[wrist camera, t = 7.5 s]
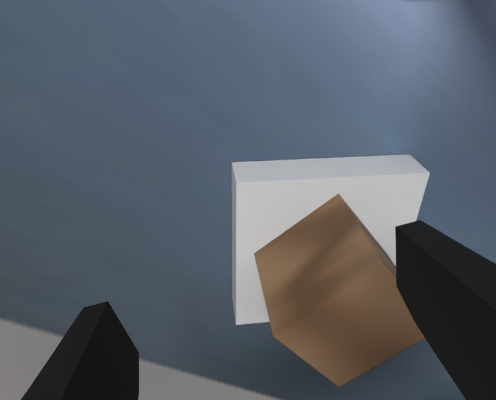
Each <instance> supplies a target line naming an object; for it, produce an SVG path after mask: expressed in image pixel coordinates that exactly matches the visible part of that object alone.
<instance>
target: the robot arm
mask: <svg viewBox="0 0 496 400" xmlns="http://www.w3.org/2000/svg"><path fill="white" fill-rule="evenodd" d="M395 237H396V286H397V288H398V290H399V292H400V294H401V296H402V298H403V300H404V302H405V304H406V306H407V308H408V310H409V312H410V314H411V316H412V318H413V320H414V322H415V323H416V325H417V326H418V328H419V330H420V331H421V333H422V334H423V336H424V337H425V339H426V340H427V342H428V343H429V345H430V346H431V348H432V349H433V351H434V352H435V354H436V355H437V357H438V358H439V360H440V361H441V363H442V364H443V366H444V367H445V369H446V370H447V372H448V373H449V375H450V376H451V378H452V379H453V381H454V382H455V384H456V385H457V387H458V388H459V390H460V391H461V393H462V394H463V396H464V397H465V399H466V400H496V264H495V263H493V262H491V261H490V260H488V259H486V258H484V257H482V256H481V255H479V254H477V253H475V252H474V251H472V250H470V249H468V248H467V247H465V246H463V245H462V244H460V243H458V242H456V241H455V240H453V239H451V238H450V237H448V236H446V235H445V234H443V233H441V232H439V231H438V230H436V229H434V228H433V227H431V226H429V225H427V224H426V223H424V222H422V221H420V220H418V221H415V222H411V223H407V224H403V225H399V226H395ZM138 395H139V352H138V351H137V349H136V347H135V346H134V344H133V342H132V341H131V339H130V337H129V336H128V334H127V332H126V331H125V329H124V327H123V326H122V324H121V322H120V321H119V319H118V317H117V316H116V314H115V312H114V311H113V309H112V307H111V306H110V304H109V302H108V301H107V302H103V303H100V304H96V305H92V306H88V307H84V308H83V309H82V311H81V312H80V314H79V315H78V317H77V318H76V319H75V321H74V322H73V324H72V325H71V327H70V328H69V330H68V331H67V333H66V334H65V336H64V337H63V339H62V340H61V342H60V343H59V345H58V346H57V348H56V350H55V351H54V352H53V354H52V355H51V357H50V358H49V360H48V361H47V363H46V364H45V366H44V367H43V369H42V370H41V372H40V373H39V374H38V376H37V377H36V379H35V380H34V382H33V384H32V385H31V386H30V388H29V389H28V391H27V392H26V393H25V395H24V396H23V398H22V399H21V400H138Z"/></svg>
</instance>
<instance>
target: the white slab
mask: <svg viewBox="0 0 496 400" xmlns="http://www.w3.org/2000/svg"><path fill="white" fill-rule="evenodd" d="M429 174H430V172H428V171H427V170H426V169H425V168H424V167H423V166H422V165H421V164H419V163H418V162H417V161H416V160H415V159H414V158H413V157H412V156H411V155H409V154H408V155H385V156H363V157H341V158H318V159H296V160H274V161H251V162H232V300H233V307H234V314H235V321H236V325H240V324H251V323H261V322H270V321H269V316H268V312H267V308H266V303H265V299H264V295H263V291H262V286H261V282H260V278H259V273H258V269H257V265H256V261H255V256H254V253H255V252H257V251H258V250H259V249H261V248H262V247H264V246H265V245H266V244H268V243H269V242H271V241H272V240H274V239H275V238H276V237H278V236H279V235H281V234H282V233H283V232H285V231H286V230H288V229H289V228H290V227H292V226H293V225H295V224H296V223H298V222H299V221H300V220H302V219H303V218H305V217H306V216H307V215H309V214H310V213H312V212H313V211H314V210H316V209H317V208H319V207H320V206H322V205H323V204H324V203H326V202H327V201H329V200H330V199H331V198H333V197H334V196H336V195H337V194H338V193H339V195H340V196H341V197H342V198H343V200H344V201H345V202H346V203H347V205H348V206H349V207H350V208H351V209H352V211H353V212H354V213H355V214H356V216H357V217H358V218H359V219H360V221H361V222H362V223H363V224H364V226H365V227H366V228H367V229H368V231H369V232H370V233H371V234H372V236H373V237H374V238H375V239H376V241H377V242H378V243H379V244H380V246H381V247H382V248H383V249H384V250H385V252H386V253H387V254H388V256H389V257H390V259H391V260H392V262H393V263H394V265H395V266H396V237H395V226H399V225H403V224H407V223H411V222H415V221H416V219H417V216H418V212H419V209H420V205H421V202H422V199H423V195H424V192H425V188H426V185H427V181H428V178H429Z"/></svg>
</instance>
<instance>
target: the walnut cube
mask: <svg viewBox="0 0 496 400" xmlns="http://www.w3.org/2000/svg"><path fill="white" fill-rule="evenodd" d="M254 256H255V261H256V265H257V269H258V273H259V278H260V282H261V286H262V291H263V295H264V299H265V303H266V308H267V312H268V316H269V321H270V325H271V329H272V334H273V337H275V338H276V339H277V340H279V341H280V342H281V343H282V344H284V345H285V346H286V347H288V348H289V349H290V350H292V351H293V352H294V353H295V354H297V355H298V356H299V357H301V358H302V359H303V360H304V361H306V362H307V363H308V364H310V365H311V366H312V367H313V368H315V369H316V370H317V371H319V372H320V373H321V374H322V375H324V376H325V377H326V378H328V379H329V380H330V381H331V382H333V383H334V384H335V385H337V386H338V387H340V386H342V385H344V384H346V383H347V382H349V381H351V380H353V379H354V378H356V377H358V376H360V375H361V374H363V373H365V372H367V371H368V370H370V369H372V368H374V367H375V366H377V365H379V364H381V363H382V362H384V361H386V360H388V359H389V358H391V357H393V356H395V355H397V354H398V353H400V352H402V351H404V350H405V349H407V348H409V347H411V346H412V345H414V344H416V343H418V342H419V341H421V340H423V339H425V337H424V336H423V334H422V333H421V331H420V330H419V328H418V326H417V325H416V323H415V322H414V320H413V318H412V316H411V314H410V312H409V310H408V308H407V306H406V304H405V302H404V300H403V298H402V296H401V294H400V292H399V290H398V288H397V286H396V266H395V265H394V263H393V262H392V260H391V259H390V257H389V256H388V254H387V253H386V252H385V250H384V249H383V248H382V247H381V246H380V244H379V243H378V242H377V241H376V239H375V238H374V237H373V236H372V234H371V233H370V232H369V231H368V229H367V228H366V227H365V226H364V224H363V223H362V222H361V221H360V219H359V218H358V217H357V216H356V214H355V213H354V212H353V211H352V209H351V208H350V207H349V206H348V205H347V203H346V202H345V201H344V200H343V198H342V197H341V196H340V195H339V193H338V194H337V195H336V196H334V197H333V198H331V199H330V200H329V201H327V202H326V203H324V204H323V205H322V206H320V207H319V208H317V209H316V210H314V211H313V212H312V213H310V214H309V215H307V216H306V217H305V218H303V219H302V220H300V221H299V222H298V223H296V224H295V225H293V226H292V227H290V228H289V229H288V230H286V231H285V232H283V233H282V234H281V235H279V236H278V237H276V238H275V239H274V240H272V241H271V242H269V243H268V244H266V245H265V246H264V247H262V248H261V249H259V250H258V251H257V252H255V253H254Z"/></svg>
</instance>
